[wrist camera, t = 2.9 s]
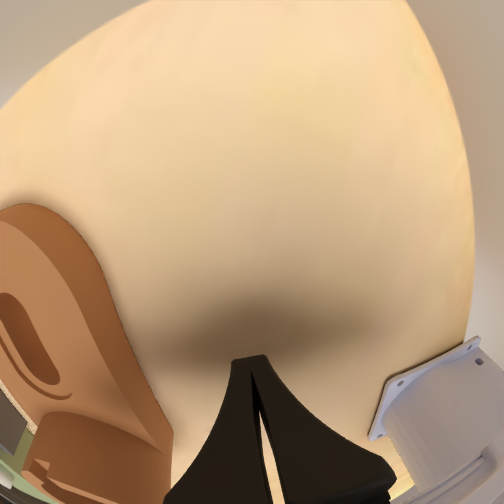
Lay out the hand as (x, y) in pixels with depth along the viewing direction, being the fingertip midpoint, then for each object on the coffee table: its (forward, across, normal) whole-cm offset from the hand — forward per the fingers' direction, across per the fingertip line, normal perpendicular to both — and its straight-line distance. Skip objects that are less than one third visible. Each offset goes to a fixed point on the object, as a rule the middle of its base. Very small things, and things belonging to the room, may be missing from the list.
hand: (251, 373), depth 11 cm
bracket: (+2, +10, 0) cm, 10 cm away
